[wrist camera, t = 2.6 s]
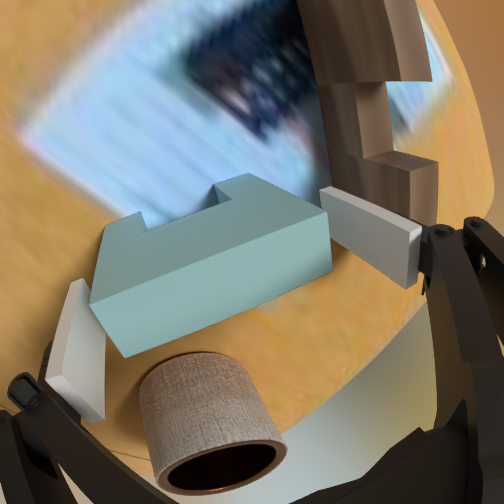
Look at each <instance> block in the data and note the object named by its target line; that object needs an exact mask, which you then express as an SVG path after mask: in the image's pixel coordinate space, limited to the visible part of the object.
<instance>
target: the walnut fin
mask: <svg viewBox="0 0 504 504" xmlns="http://www.w3.org/2000/svg"><path fill="white" fill-rule="evenodd" d="M296 1H297V5H298V8H299V12H300V16H301V19H302V23H303V27H304V31H305V35H306V39H307V43H308V47H309V51H310V56H311V60H312V65H313V69H314V74H315V79H316V83H317V88H318V94H319V99H320V104H321V110H322V115H323V121H324V127H325V133H326V139H327V146H328V153H329V160H330V167H331V175H332V183H333V187H334V188H336V189H339V190H341V191H344V192H346V193H349V194H351V195H354V196H356V197H358V198H361V199H363V200H365V201H368V202H370V203H372V204H375V205H377V206H379V207H382V208H384V209H386V210H390V211H395V212H398V213H400V214H402V215H404V216H407V217H409V218H410V219H413V220H415V221H417V222H420V223H422V224H424V225H426V226H428V227H430V226H432V225H436V221H437V206H438V162H436V161H433V160H429V159H426V158H422V157H418V156H414V155H410V154H406V153H402V152H398V151H394V149H393V137H392V127H391V118H390V109H389V102H388V95H387V88H386V82H385V81H427V82H432V75H431V68H430V62H429V57H428V51H427V46H426V42H425V37H424V32H423V28H422V24H421V20H420V16H419V12H418V9H417V5H416V2H415V0H296ZM419 272H420V271H419V270H418V273H419Z"/></svg>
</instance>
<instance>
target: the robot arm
mask: <svg viewBox="0 0 504 504" xmlns="http://www.w3.org/2000/svg"><path fill="white" fill-rule="evenodd" d="M319 193H320V200H321V208H322V209H323V210H325V211H327V216H328V225H329V235H330V238H331V239H333V240H334V241H336V242H337V243H339V244H340V245H342V246H343V247H345V248H346V249H348V250H349V251H351V252H352V253H354V254H355V255H357V256H358V257H360V258H361V259H363V260H364V261H366V262H367V263H369V264H370V265H371V266H373V267H374V268H376V269H377V270H379V271H380V272H381V273H383V274H384V275H386V276H387V277H389V278H390V279H391V280H393V281H394V282H396V283H397V284H398V285H400V286H401V287H403V288H404V289H405V290H406V289H407V288H409V287H411V286H412V285H414V284H415V283H417V279H418V270H419V271H420V272H422V273H423V274H424V280H423V288H422V295H424V292H426V298H427V304H428V310H429V317H430V324H431V331H432V339H433V348H434V358H435V371H436V388H437V414H436V418H435V422H434V428H433V429H431V430H428V431H425V432H424V431H423V430H422V429H421V428H420V427H418V428H417V429H416V430H414V431H413V432H412V433H411V434H409V435H408V436H407V437H405V438H404V439H402V440H401V441H400V442H398V443H397V444H396V445H394V446H393V447H391V448H390V449H389V450H388V451H387V452H386V453H385V454H384V456H383V457H382V458H381V459H380V460H379V461H378V462H377V463H376V464H375V465H374V466H373V467H372V468H371V469H370V470H369V471H368V472H367V473H366V474H365V475H364V476H363V477H361V478H359V479H357V480H354V481H350V482H347V483H344V484H340V485H337V486H333V487H330V488H326V489H322V490H318V491H316V492H314V493H312V494H310V495H308V496H305V497H303V498H301V499H299V500H296V501H294V502H292V503H290V504H504V357H503V355H502V351H501V348H500V344H499V341H498V337H497V335H498V336H499V338H500V340H501V342H502V344H503V346H504V237H503V236H502V235H501V234H500V233H499V232H498V231H496V230H495V229H494V228H493V227H492V226H491V225H490V224H489V223H488V222H487V221H485V220H484V219H481V218H480V217H476V216H473V217H467V218H465V219H464V226H463V229H459V230H455V229H454V228H452V227H450V226H448V225H444V224H436V225H432V226H430V227H428V226H426V225H424V224H422V223H420V222H417V221H415V220H413V219H410V218H409V217H407V216H404V215H402V214H400V213H398V212H395V211H390V210H386V209H384V208H382V207H379V206H377V205H375V204H372V203H370V202H368V201H365V200H363V199H361V198H358V197H356V196H354V195H351V194H349V193H346V192H344V191H341V190H339V189H336V188H334V187H331V186H329V187H326V188H323V189H320V190H319ZM483 257H485V262H486V265H485V266H484V265H483V264H482V262H483ZM90 296H91V291H90V289H89V287H88V285H87V284H86V282H85V280H84V278H81V279H78V280H76V281H74V282H71V284H70V287H69V290H68V293H67V296H66V300H65V303H64V306H63V309H62V313H61V316H60V319H59V323H58V326H57V330H56V334H55V338H54V341H51V342H50V343H49V344H48V346H47V348H46V349H45V352H44V356H43V361H42V364H41V368H40V372H39V377H38V382H37V381H36V380H35V379H34V378H33V377H32V376H31V374H29V373H28V372H23V373H21V374H19V375H18V376H16V377H15V378H14V379H13V380H12V382H11V383H10V385H9V387H8V392H7V394H8V398H9V399H10V400H11V401H12V402H13V403H14V404H15V405H16V406H17V407H18V408H19V409H20V410H22V411H21V412H19V413H18V414H16V415H14V416H12V415H11V414H10V413H9V412H8V411H6V410H0V483H1V486H2V490H3V493H4V497H5V500H6V503H7V504H78V503H77V501H76V499H75V498H74V496H73V494H72V492H71V490H70V488H69V486H68V484H67V482H66V480H65V478H64V476H63V474H62V471H61V469H60V467H59V465H58V464H60V466H61V467H62V469H63V470H64V471H65V472H66V473H67V475H68V476H69V477H70V478H71V479H72V480H73V482H74V483H75V484H76V485H77V486H78V487H79V489H80V490H81V491H82V492H83V493H84V494H85V495H86V496H87V497H88V498H89V499H90V500H91V501H92V502H93V503H94V504H179V503H177V502H176V501H174V500H173V499H171V498H170V497H168V496H167V495H165V494H164V493H162V492H161V491H160V490H158V489H157V488H155V487H154V486H152V485H151V484H150V483H148V482H147V481H146V480H144V479H143V478H142V477H140V476H139V475H138V474H136V473H135V472H134V471H133V470H131V469H130V468H129V467H128V466H126V465H125V464H124V463H123V462H122V461H120V460H119V459H118V458H117V457H116V456H114V455H113V454H112V453H111V452H110V451H109V450H108V449H107V448H105V447H104V446H103V445H102V444H101V443H100V442H99V441H98V440H97V439H96V438H95V437H94V436H93V435H92V434H90V433H89V432H88V431H87V430H86V429H85V428H84V427H83V426H82V425H81V424H80V422H81V417H82V418H83V419H85V420H86V421H87V422H88V423H89V424H91V423H95V422H99V421H103V420H105V398H104V378H105V346H106V331H105V329H104V328H103V326H102V325H101V323H100V322H99V320H98V319H97V317H96V315H95V314H94V312H93V311H92V309H91V307H90V306H89V302H90Z"/></svg>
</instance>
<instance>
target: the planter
mask: <svg viewBox="0 0 504 504" xmlns="http://www.w3.org/2000/svg"><path fill="white" fill-rule="evenodd" d="M139 406H140V412H141V417H142V422H143V427H144V432H145V437H146V441H147V446H148V450H149V455H150V459H151V463H152V467H153V472H154V476H155V479H156V483H157V484H158V486H159V487H160V488H161V489H163V490H165V491H167V492H170V493H173V494H177V495H185V496H202V495H211V494H217V493H222V492H226V491H230V490H234V489H236V488H240V487H242V486H245V485H247V484H250V483H252V482H254V481H256V480H258V479H260V478H262V477H263V476H265V475H267V474H268V473H270V472H271V471H272V470H273V469H275V468H276V467H277V466H278V465H279V464H280V463H281V462H282V461H283V460H284V458H285V456H286V454H287V451H288V448H287V445H286V443H285V441H284V440H283V438H282V436H281V434H280V433H279V431H278V429H277V427H276V426H275V424H274V422H273V420H272V418H271V416H270V415H269V413H268V411H267V409H266V407H265V405H264V403H263V401H262V399H261V397H260V395H259V393H258V391H257V389H256V388H255V386H254V384H253V382H252V380H251V378H250V376H249V374H248V372H247V371H246V369H245V368H244V367H243V366H242V365H241V364H240V363H239V362H238V361H236V360H235V359H233V358H231V357H229V356H226V355H222V354H217V353H193V354H187V355H183V356H179V357H176V358H173V359H171V360H168V361H166V362H164V363H162V364H160V365H159V366H157V367H156V368H154V369H153V370H152V371H151V372H150V373H149V374H148V375H147V376H146V377H145V378H144V380H143V381H142V383H141V385H140V389H139Z"/></svg>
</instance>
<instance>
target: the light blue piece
mask: <svg viewBox="0 0 504 504" xmlns="http://www.w3.org/2000/svg"><path fill="white" fill-rule="evenodd" d="M213 185H214V188H215V192H216V195H217V199H218V202H219V204H218V205H215V206H212V207H210V208H207V209H204V210H201V211H199V212H196V213H193V214H191V215H188V216H185V217H182V218H180V219H177V220H175V221H172V222H169V223H167V224H164V225H162V226H159V227H156V228H154V229H151V230H149V231H148V230H147V227H146V224H145V222H144V219H143V217H142V214H141V211H140V212H137V213H135V214H132V215H130V216H127V217H125V218H123V219H120V220H118V221H115V222H113V223H111V224H108V225H106V226H105V229H104V233H103V237H102V241H101V246H100V250H99V255H98V259H97V264H96V269H95V274H94V279H93V285H92V290H91V296H90V302H89V306H90V307H91V309H92V311H93V312H94V314H95V315H96V317H97V319H98V320H99V322H100V323H101V325H102V326H103V328H104V329H105V331H106V332H107V334H108V335H109V337H110V338H111V340H112V341H113V343H114V344H115V346H116V347H117V348H118V350H119V351H120V353H121V354H122V355H123V357H124V358H127V357H130V356H132V355H135V354H138V353H141V352H143V351H146V350H149V349H151V348H154V347H157V346H159V345H162V344H165V343H167V342H170V341H172V340H175V339H178V338H180V337H183V336H185V335H188V334H190V333H193V332H195V331H198V330H200V329H203V328H205V327H208V326H210V325H213V324H215V323H217V322H220V321H222V320H225V319H227V318H229V317H232V316H234V315H237V314H239V313H241V312H244V311H246V310H248V309H251V308H253V307H255V306H258V305H260V304H262V303H264V302H267V301H269V300H271V299H274V298H276V297H278V296H280V295H282V294H285V293H287V292H289V291H291V290H294V289H296V288H298V287H300V286H302V285H305V284H307V283H309V282H311V281H313V280H315V279H317V278H320V277H322V276H324V275H326V274H328V273H330V272H332V271H333V268H332V256H331V245H330V235H329V225H328V216H327V211H325V210H323V209H321V208H319V207H317V206H315V205H313V204H311V203H309V202H307V201H305V200H303V199H301V198H300V197H298V196H296V195H294V194H292V193H290V192H288V191H285V190H283V189H281V188H279V187H277V186H275V185H273V184H271V183H269V182H267V181H265V180H263V179H261V178H259V177H256V176H254V175H252V174H250V173H247V174H244V175H240V176H237V177H234V178H231V179H228V180H225V181H222V182H219V183H216V184H213Z"/></svg>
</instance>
